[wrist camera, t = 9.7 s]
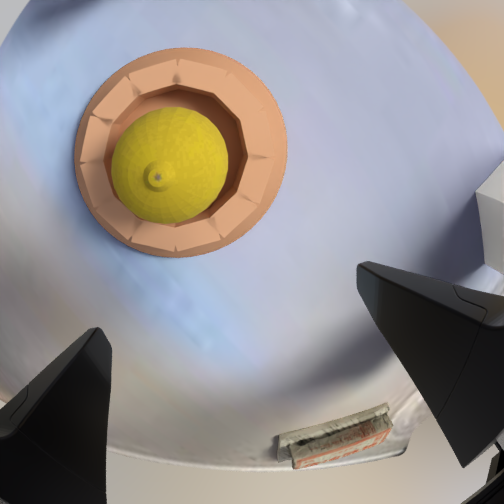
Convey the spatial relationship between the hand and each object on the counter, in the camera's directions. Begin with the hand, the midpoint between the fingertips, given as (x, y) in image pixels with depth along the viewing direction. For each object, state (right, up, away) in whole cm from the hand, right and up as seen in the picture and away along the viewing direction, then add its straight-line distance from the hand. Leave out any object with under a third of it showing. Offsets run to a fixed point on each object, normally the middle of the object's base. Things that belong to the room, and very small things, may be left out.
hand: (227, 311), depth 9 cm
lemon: (-4, +8, +8) cm, 12 cm away
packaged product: (+13, -26, +28) cm, 41 cm away
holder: (-4, +8, +8) cm, 12 cm away
